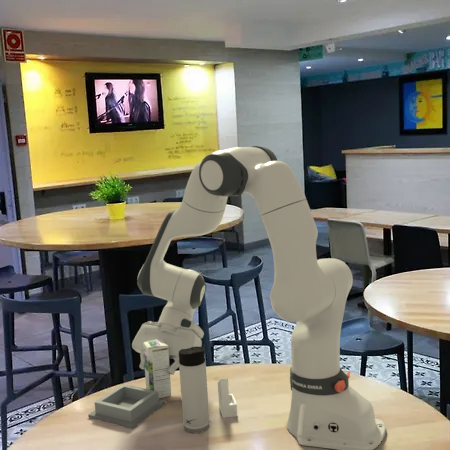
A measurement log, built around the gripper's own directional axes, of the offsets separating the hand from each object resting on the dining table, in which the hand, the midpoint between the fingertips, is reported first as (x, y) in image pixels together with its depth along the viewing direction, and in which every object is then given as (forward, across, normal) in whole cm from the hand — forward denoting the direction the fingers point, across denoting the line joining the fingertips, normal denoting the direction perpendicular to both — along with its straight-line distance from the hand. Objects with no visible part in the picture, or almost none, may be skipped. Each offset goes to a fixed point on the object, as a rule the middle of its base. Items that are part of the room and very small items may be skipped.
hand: (155, 371), depth 158 cm
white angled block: (+5, +22, +5) cm, 23 cm away
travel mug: (+12, +19, -2) cm, 23 cm away
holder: (+12, -2, -2) cm, 13 cm away
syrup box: (+5, 0, +5) cm, 7 cm away
